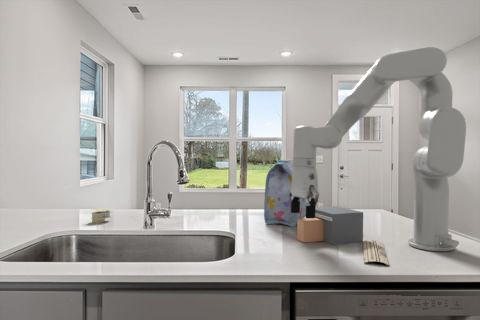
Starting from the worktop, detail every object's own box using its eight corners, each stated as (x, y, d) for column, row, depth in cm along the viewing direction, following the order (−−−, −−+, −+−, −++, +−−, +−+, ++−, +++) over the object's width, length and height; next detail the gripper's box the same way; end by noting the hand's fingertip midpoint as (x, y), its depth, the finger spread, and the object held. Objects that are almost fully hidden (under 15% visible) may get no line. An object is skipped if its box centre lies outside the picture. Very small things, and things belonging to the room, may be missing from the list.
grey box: (362, 241, 115) (363, 212, 115) (330, 244, 110) (330, 214, 110) (337, 232, 128) (337, 206, 128) (307, 235, 124) (307, 207, 123)
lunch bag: (302, 228, 135) (302, 160, 135) (261, 224, 142) (261, 159, 141) (312, 218, 156) (313, 159, 156) (276, 215, 163) (276, 159, 162)
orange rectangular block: (349, 238, 119) (349, 217, 119) (303, 242, 113) (303, 220, 113) (342, 235, 123) (342, 215, 123) (297, 239, 116) (297, 218, 116)
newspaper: (362, 244, 114) (362, 239, 113) (386, 246, 111) (386, 241, 111) (364, 266, 91) (364, 260, 91) (393, 269, 89) (393, 262, 89)
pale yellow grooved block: (98, 225, 140) (98, 211, 140) (84, 223, 144) (84, 210, 144) (118, 221, 149) (118, 208, 149) (104, 219, 153) (104, 206, 153)
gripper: (329, 165, 108) (327, 220, 108) (301, 163, 124) (299, 210, 125) (308, 164, 105) (306, 220, 106) (282, 162, 122) (280, 211, 122)
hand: (302, 215), depth 115 cm, fingers open, 9 cm apart
